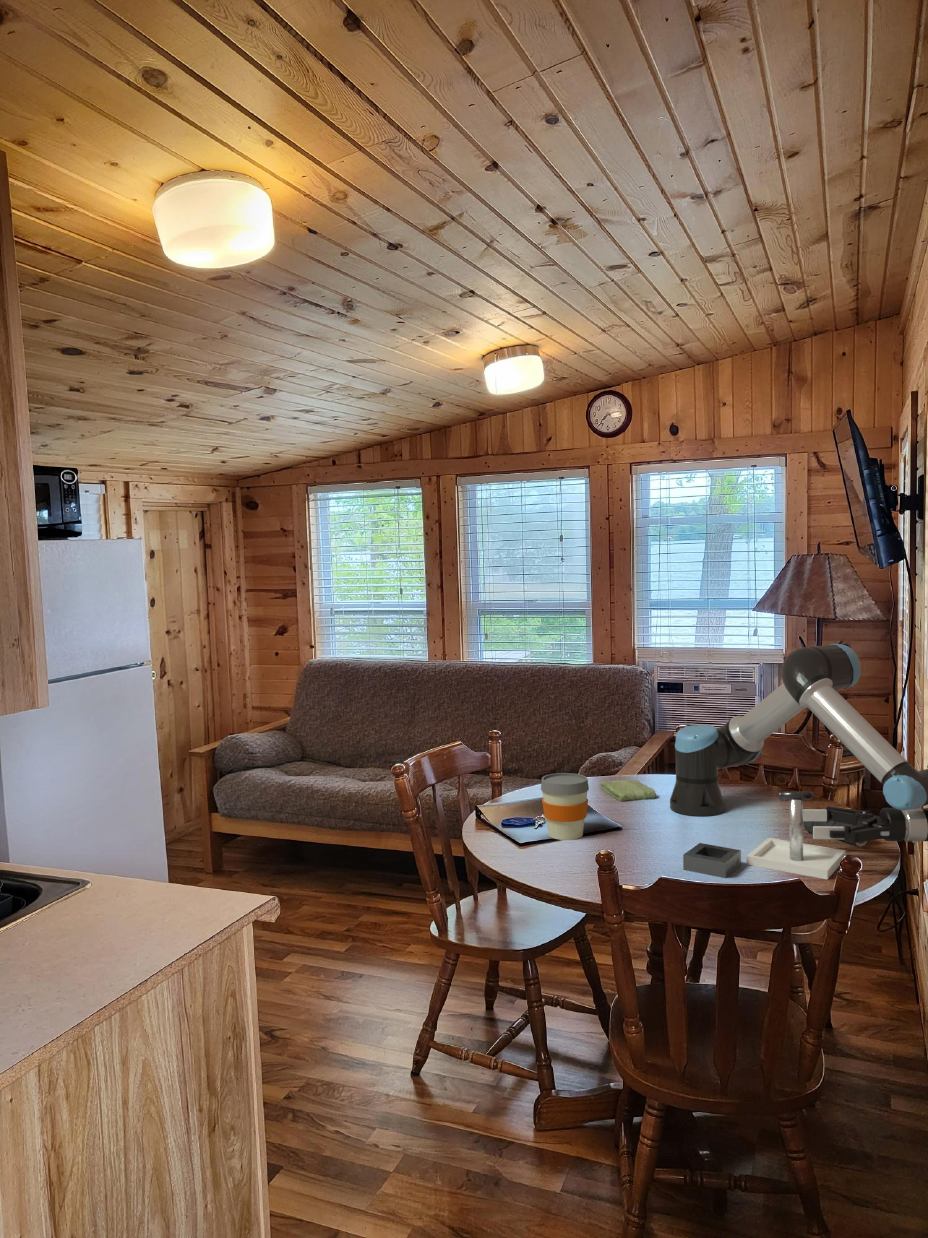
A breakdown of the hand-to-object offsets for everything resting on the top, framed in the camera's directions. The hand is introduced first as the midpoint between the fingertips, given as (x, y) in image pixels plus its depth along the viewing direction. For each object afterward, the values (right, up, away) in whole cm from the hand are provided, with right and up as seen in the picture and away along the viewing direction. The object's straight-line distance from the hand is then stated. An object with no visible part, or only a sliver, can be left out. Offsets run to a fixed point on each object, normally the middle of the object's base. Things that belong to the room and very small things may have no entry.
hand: (805, 823), depth 204 cm
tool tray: (-2, -9, +1) cm, 10 cm away
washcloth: (-29, -7, +65) cm, 72 cm away
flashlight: (+15, -8, +17) cm, 24 cm away
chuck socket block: (-22, -10, -1) cm, 24 cm away
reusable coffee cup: (-53, -9, +26) cm, 60 cm away
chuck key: (-2, -9, +1) cm, 9 cm away
